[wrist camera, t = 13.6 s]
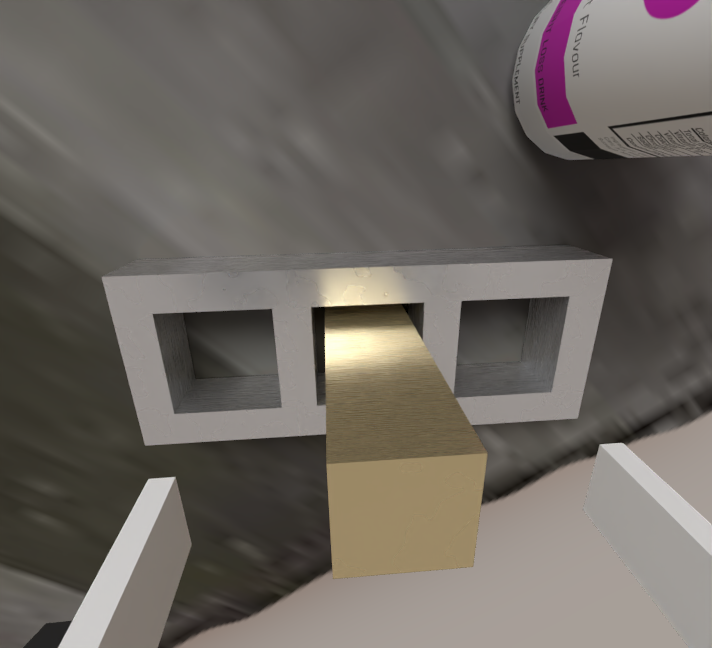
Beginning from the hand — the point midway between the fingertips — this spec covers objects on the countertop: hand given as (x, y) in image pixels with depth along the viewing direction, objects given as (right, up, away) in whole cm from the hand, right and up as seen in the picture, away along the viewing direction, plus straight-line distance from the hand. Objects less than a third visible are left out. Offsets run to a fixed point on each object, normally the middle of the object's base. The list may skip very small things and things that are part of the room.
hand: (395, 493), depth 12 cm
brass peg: (-1, +5, +13) cm, 14 cm away
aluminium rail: (-1, +5, +13) cm, 14 cm away
